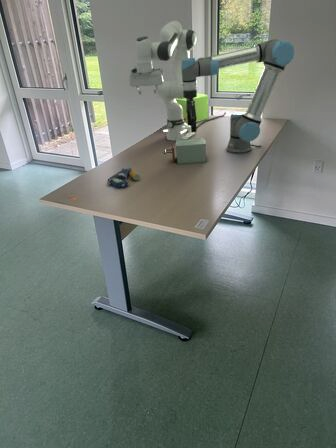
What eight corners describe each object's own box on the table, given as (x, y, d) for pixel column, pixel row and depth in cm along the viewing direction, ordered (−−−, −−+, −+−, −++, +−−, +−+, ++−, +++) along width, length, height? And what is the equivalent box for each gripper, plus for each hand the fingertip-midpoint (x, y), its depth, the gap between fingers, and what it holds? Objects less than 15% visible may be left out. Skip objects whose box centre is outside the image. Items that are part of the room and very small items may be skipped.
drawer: (164, 162, 204) (163, 148, 199) (164, 157, 212) (163, 143, 207) (199, 160, 203) (199, 145, 198) (198, 155, 211) (198, 140, 206)
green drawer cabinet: (177, 163, 203) (176, 145, 198) (177, 157, 212) (176, 140, 207) (206, 161, 203) (205, 143, 197) (204, 155, 212) (204, 138, 206)
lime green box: (191, 115, 302) (190, 88, 290) (208, 118, 288) (208, 90, 276) (170, 121, 289) (168, 93, 277) (187, 125, 275) (185, 95, 263)
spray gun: (146, 174, 192) (124, 172, 198) (145, 167, 190) (123, 165, 196) (127, 190, 176) (104, 187, 183) (125, 183, 174) (102, 180, 181)
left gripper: (163, 66, 196) (165, 91, 203) (129, 69, 199) (132, 93, 206) (162, 68, 191) (163, 93, 198) (127, 70, 194) (130, 95, 201)
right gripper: (179, 86, 192) (182, 123, 203) (186, 94, 171) (188, 135, 182) (192, 85, 192) (194, 122, 203) (201, 92, 171) (202, 133, 182)
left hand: (147, 93), depth 202 cm, fingers open, 8 cm apart
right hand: (191, 128), depth 193 cm, fingers open, 13 cm apart
